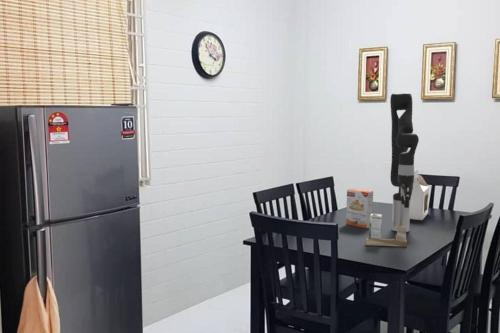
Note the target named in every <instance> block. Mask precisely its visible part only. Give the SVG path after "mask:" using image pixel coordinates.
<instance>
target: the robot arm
mask: <svg viewBox="0 0 500 333" xmlns="http://www.w3.org/2000/svg"><path fill="white" fill-rule="evenodd" d="M389 99H390V103H389V104H390V117H391V136H390V137H391V138H390V139H391V164H390V165H391V167H390V183H391V185H392V186H393V187H396V188H400V191H398V192H396V193H394V194H393V195H392V218H391V219H392V220H391V223H392V224H391V230H392V231H393V232H397V226H406V233H407V232H410V223H411V222H410V221H411V219H410V200H411V195H412V187H413V183H414V172H415V154H416V150H417V148H418V144H419V141H420V140H419V136H418V135H417V134H416V133H413V132H414V125H413V95H412V94H411V93H410V92H395V93H394V92H393V93H391V95H390V98H389ZM398 111H404V112H403V113H402V114H401V116H400V117H399V116H398ZM409 148H410V149H409Z"/></svg>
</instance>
